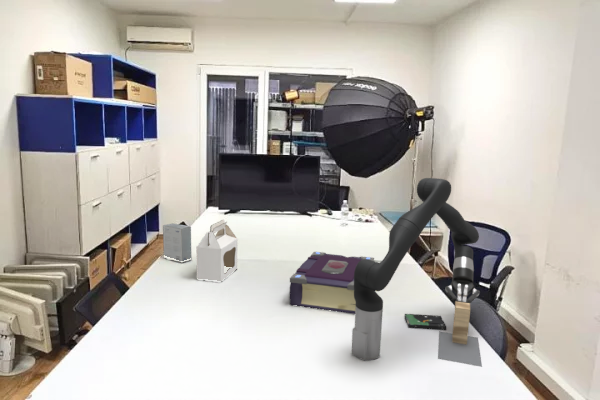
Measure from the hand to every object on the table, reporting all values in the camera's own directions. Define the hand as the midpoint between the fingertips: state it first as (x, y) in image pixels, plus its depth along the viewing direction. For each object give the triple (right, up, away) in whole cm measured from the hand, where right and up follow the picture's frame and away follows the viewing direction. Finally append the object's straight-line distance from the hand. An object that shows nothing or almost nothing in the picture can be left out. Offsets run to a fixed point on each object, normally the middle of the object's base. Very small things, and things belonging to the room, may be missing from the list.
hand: (461, 312), depth 164 cm
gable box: (-103, +3, +66) cm, 122 cm away
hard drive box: (-131, +7, +90) cm, 159 cm away
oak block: (-1, -10, 0) cm, 10 cm away
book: (-44, -3, +46) cm, 64 cm away
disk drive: (-10, -9, +13) cm, 19 cm away
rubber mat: (-3, -12, -6) cm, 13 cm away
